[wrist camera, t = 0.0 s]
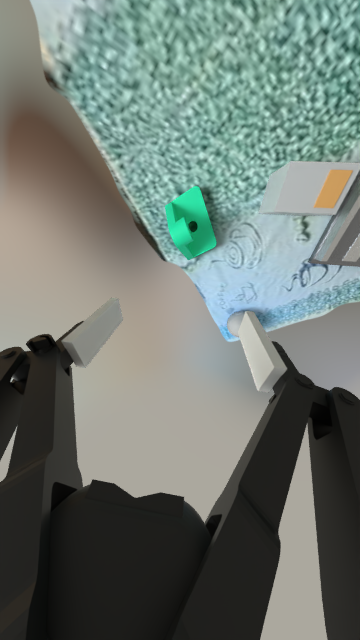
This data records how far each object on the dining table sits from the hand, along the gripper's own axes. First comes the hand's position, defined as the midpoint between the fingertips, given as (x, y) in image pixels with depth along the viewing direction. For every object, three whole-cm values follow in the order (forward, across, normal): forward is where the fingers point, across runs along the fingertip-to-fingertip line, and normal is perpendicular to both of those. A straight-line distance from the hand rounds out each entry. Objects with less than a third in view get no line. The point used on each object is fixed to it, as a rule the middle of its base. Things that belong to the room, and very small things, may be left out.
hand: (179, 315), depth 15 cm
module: (+28, +19, +13) cm, 36 cm away
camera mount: (+28, 0, +7) cm, 29 cm away
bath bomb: (+28, +17, -17) cm, 37 cm away
